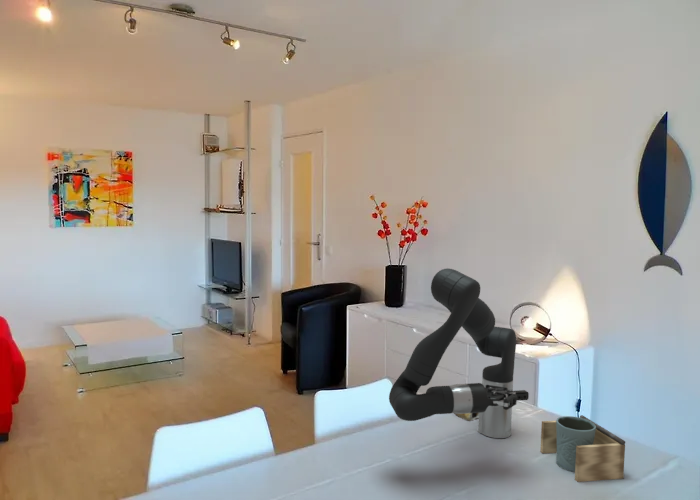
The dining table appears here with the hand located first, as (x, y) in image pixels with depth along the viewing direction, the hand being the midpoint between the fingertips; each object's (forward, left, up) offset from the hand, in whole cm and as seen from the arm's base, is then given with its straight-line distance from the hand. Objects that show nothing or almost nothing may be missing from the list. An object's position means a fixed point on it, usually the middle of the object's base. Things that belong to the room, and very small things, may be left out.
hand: (527, 394), depth 151 cm
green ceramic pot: (+11, +9, -20) cm, 25 cm away
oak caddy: (+12, +10, -20) cm, 26 cm away
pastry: (-26, +29, -21) cm, 44 cm away
